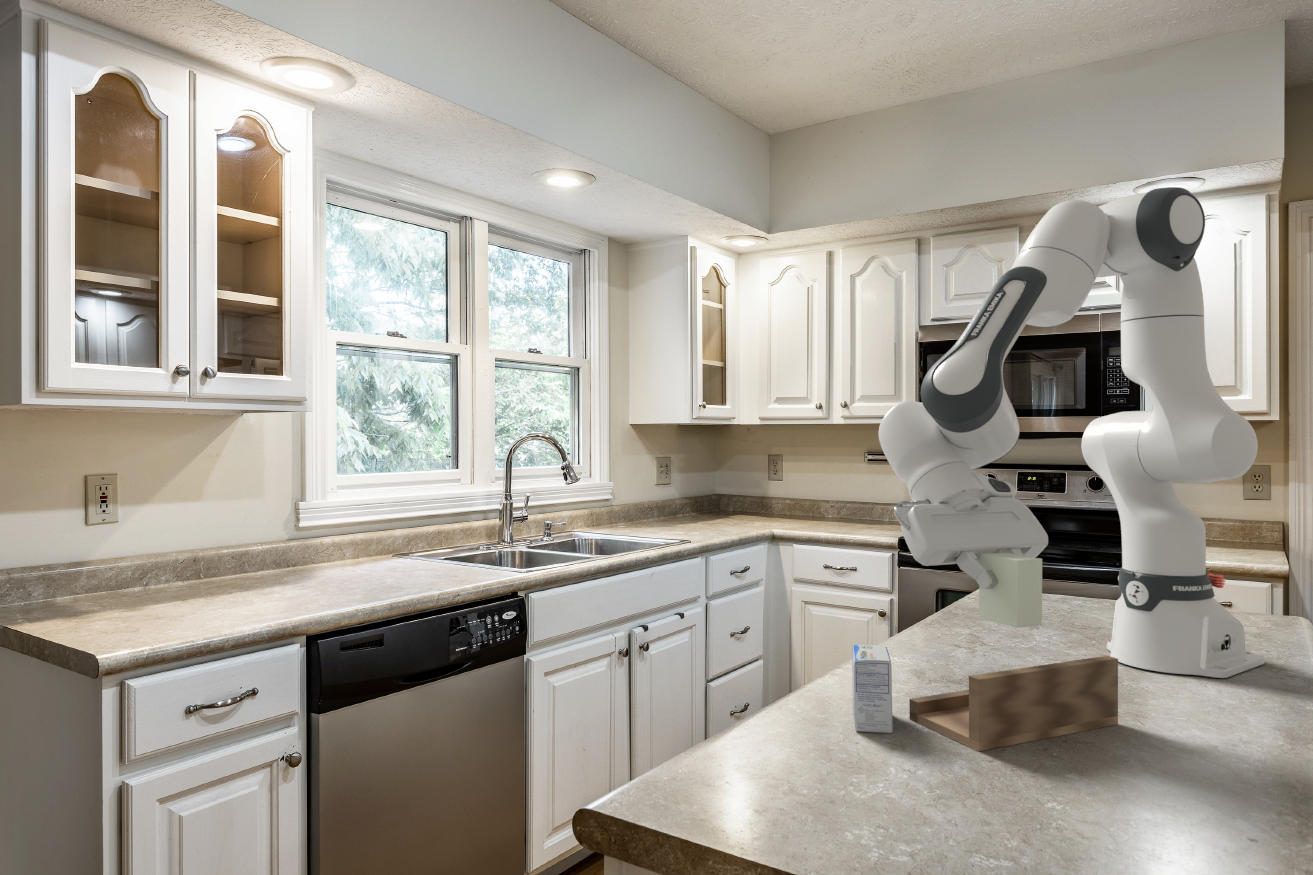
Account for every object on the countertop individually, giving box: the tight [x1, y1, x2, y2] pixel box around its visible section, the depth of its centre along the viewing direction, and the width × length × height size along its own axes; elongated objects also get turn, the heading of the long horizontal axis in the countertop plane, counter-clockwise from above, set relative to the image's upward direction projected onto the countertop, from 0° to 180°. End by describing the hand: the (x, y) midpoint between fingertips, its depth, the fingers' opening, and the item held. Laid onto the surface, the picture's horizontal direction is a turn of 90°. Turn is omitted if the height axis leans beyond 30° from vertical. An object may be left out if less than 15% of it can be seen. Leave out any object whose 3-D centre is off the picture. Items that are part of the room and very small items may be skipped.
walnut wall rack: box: [909, 655, 1119, 752], centre depth 102 cm, size 22×12×8 cm, turn 113°
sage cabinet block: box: [978, 552, 1043, 629], centre depth 102 cm, size 4×6×8 cm, turn 23°
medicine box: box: [851, 644, 894, 735], centre depth 102 cm, size 8×4×9 cm, turn 168°
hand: (1007, 584), depth 103 cm, fingers closed on sage cabinet block, 4 cm apart
